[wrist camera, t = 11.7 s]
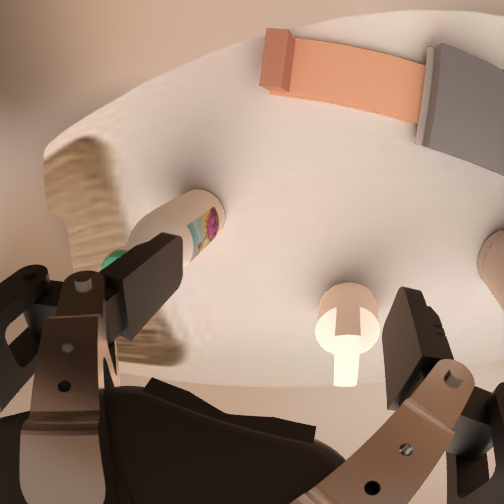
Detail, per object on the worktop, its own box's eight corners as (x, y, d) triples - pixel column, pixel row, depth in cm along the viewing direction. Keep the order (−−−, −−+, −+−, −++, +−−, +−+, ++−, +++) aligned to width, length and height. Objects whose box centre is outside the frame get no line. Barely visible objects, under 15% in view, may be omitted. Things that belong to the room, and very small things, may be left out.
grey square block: (505, 83, 24) (522, 81, 20) (492, 171, 30) (509, 178, 26) (424, 49, 27) (435, 40, 22) (412, 142, 33) (422, 145, 28)
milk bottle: (170, 215, 46) (81, 275, 29) (195, 177, 42) (102, 223, 25) (207, 248, 47) (134, 325, 29) (236, 212, 43) (164, 281, 25)
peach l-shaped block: (436, 70, 27) (452, 63, 22) (429, 128, 31) (444, 129, 26) (277, 37, 31) (267, 24, 26) (270, 94, 35) (259, 89, 30)
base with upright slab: (375, 330, 45) (378, 386, 34) (319, 331, 47) (311, 386, 37) (378, 281, 41) (386, 333, 31) (317, 282, 44) (308, 334, 34)
